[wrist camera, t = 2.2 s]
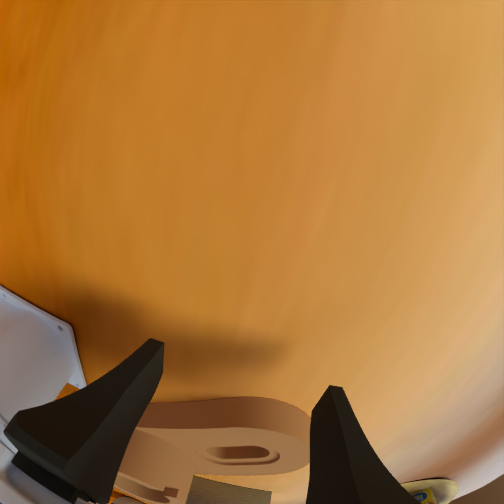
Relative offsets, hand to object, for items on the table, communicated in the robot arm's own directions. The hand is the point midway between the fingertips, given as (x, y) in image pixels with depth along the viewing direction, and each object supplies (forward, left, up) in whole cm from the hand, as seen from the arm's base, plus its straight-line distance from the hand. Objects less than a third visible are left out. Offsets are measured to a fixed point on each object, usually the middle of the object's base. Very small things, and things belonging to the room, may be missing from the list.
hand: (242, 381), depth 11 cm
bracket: (-1, -13, -4) cm, 14 cm away
